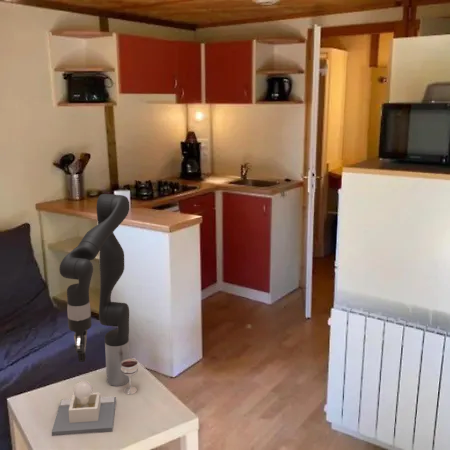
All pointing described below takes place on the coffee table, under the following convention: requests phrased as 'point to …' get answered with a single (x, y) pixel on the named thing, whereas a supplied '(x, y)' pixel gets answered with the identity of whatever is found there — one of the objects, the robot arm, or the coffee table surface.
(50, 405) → the coffee table surface
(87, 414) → the socket board
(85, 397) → the lightbulb
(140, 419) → the coffee table surface
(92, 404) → the socket plunger
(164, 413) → the coffee table surface
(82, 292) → the robot arm
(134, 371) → the wineglass
